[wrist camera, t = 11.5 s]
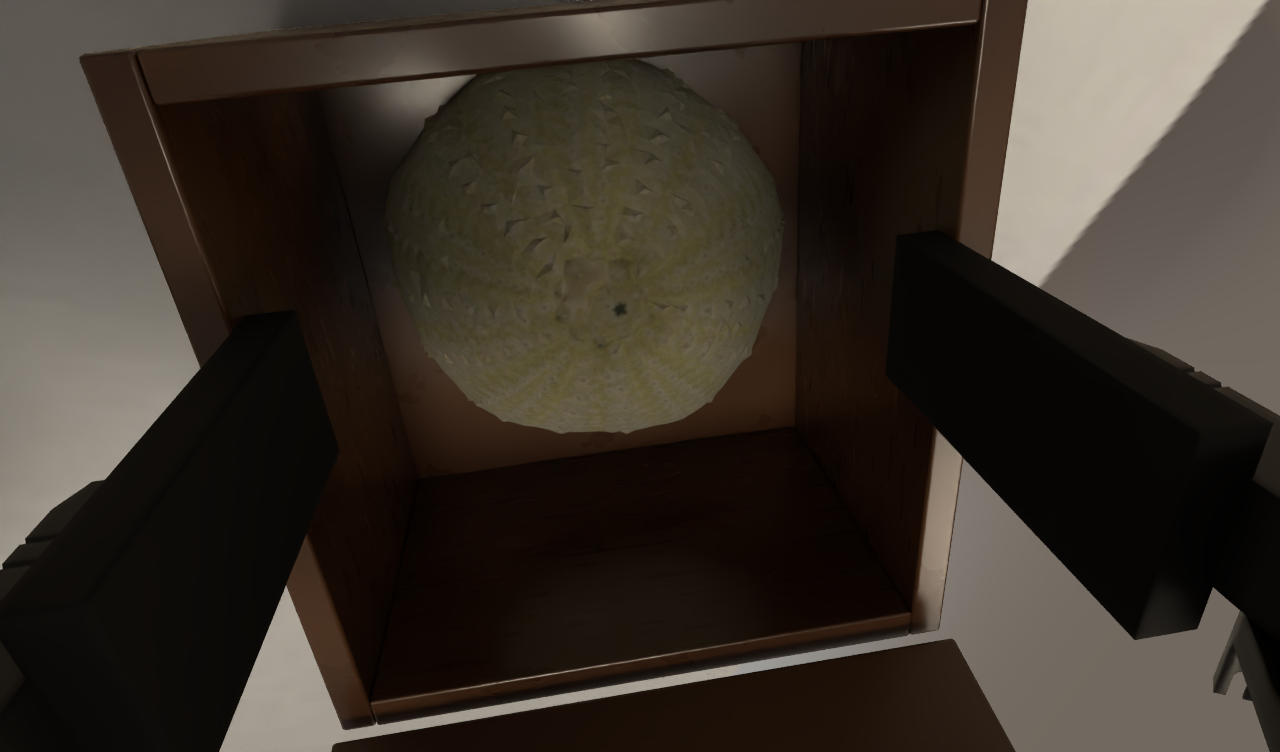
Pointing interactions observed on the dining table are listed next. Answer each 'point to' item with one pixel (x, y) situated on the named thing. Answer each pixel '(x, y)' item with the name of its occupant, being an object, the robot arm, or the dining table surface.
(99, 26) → the dining table surface
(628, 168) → the sea urchin shell
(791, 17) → the chest
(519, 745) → the lid
